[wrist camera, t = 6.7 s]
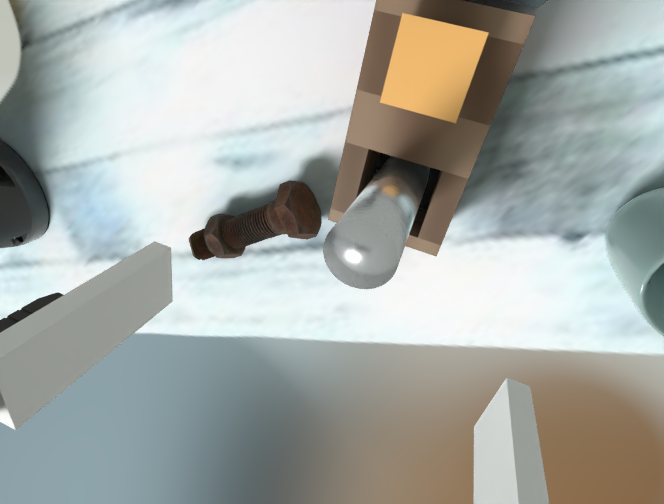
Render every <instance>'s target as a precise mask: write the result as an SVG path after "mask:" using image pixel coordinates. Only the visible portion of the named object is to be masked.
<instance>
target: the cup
mask: <svg viewBox="0 0 664 504" xmlns="http://www.w3.org/2000/svg"><path fill="white" fill-rule="evenodd" d="M605 246H606V252H607V256H608V258H609V260H610V263H611V265H612V268H613V270H614V272H615V274H616V276H617V278H618V280H619V281H620V283H621V285H622V286H623V288H624V290H625V291H626V293H627V294H628V296H629V297H630V299H631V301H632V302H633V304H634V305H635V307H636V308H637V309H638V311H639V312H640V314H641V315H642V316H643V318H644V319H645V320H646V322H647V323H648V324H649V325H650V326H652V327H653V328H654V329H655V330H656V331H657V332H658V333H659V334H661V335H663V336H664V187H662V188H657V189H654V190H651V191H648V192H645V193H643V194H641V195H639V196H637V197H635V198H633V199H632V200H630V201H629V202H627V203H626V204H624V205H623V206H622V207H621V208H620V209H619V210H618V211H616V213H615V214H614V215H613V216H612V218H611V219H610V221H609V223H608V225H607V228H606V233H605Z"/></svg>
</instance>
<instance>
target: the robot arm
mask: <svg viewBox="0 0 664 504" xmlns="http://www.w3.org/2000/svg"><path fill="white" fill-rule="evenodd" d="M48 220H49V216H48V208H47V203H46V200H45V197H44V194H43V192H42V189H41V187H40V185H39V183H38V181H37V180H36V178H35V176H34V175H33V173H32V172H31V170H30V169H29V167H28V166H27V165H26V164H25V162H24V161H23V160H22V159H21V158H20V157H19V156H18V155H17V154H16V153H15V152H14V151H13V150H12V149H11V148H10V147H9V146H8V145H6V144H5V143H4V142H2V141H1V140H0V248H6V247H14V246H20V245H24V244H26V243H29V242H31V241H33V240H36V239H38V238H40V237H41V236H42V235H43V234H44V233H45V231H46V229H47V226H48ZM171 302H172V265H171V248H170V247H168V246H165V245H162V244H160V243H157V242H153V243H151V244H150V245H148V246H146V247H145V248H143V249H141V250H139V251H138V252H136V253H134V254H133V255H131V256H129V257H128V258H126V259H124V260H123V261H121V262H119V263H117V264H116V265H114V266H112V267H111V268H109V269H107V270H106V271H104V272H102V273H101V274H99V275H97V276H95V277H94V278H92V279H90V280H89V281H87V282H85V283H84V284H82V285H80V286H78V287H77V288H75V289H73V290H72V291H70V292H68V293H67V294H65V295H63V294H60V293H55V294H51V295H48V296H45V297H42V298H39V299H37V300H35V301H33V302H31V303H30V304H28V305H26V306H24V307H23V308H22V309H21V310H20V311H19V310H17V311H16V312H14V313H12V314H10V315H8V317H7V318H3V319H1V320H0V422H1V423H3V424H5V425H7V426H9V427H11V428H13V429H15V430H17V429H18V428H19V427H20V426H21V425H23V424H24V423H25V422H26V421H27V420H29V419H30V418H31V417H32V416H34V415H35V414H36V413H37V412H38V411H40V410H41V409H42V408H43V407H45V406H46V405H47V404H48V403H49V402H51V401H52V400H53V399H54V398H56V397H57V396H58V395H59V394H60V393H62V392H63V391H64V390H65V389H66V388H68V387H69V386H70V385H71V384H73V383H74V382H75V381H76V380H77V379H79V378H80V377H81V376H82V375H83V374H85V373H86V372H87V371H88V370H90V369H91V368H92V367H93V366H94V365H95V364H97V363H98V362H99V361H100V360H102V359H103V358H104V357H105V356H107V355H108V354H109V353H110V352H111V351H113V350H114V349H115V348H116V347H118V346H119V345H120V344H121V343H122V342H124V341H125V340H126V339H127V338H128V337H130V336H131V335H132V334H133V333H135V332H136V331H137V330H138V329H139V328H141V327H142V326H143V325H144V324H145V323H147V322H148V321H149V320H150V319H152V318H153V317H154V316H155V315H156V314H158V313H159V312H160V311H161V310H162V309H164V308H165V307H166V306H167V305H169V304H170V303H171ZM474 504H549V499H548V493H547V487H546V481H545V475H544V469H543V463H542V456H541V450H540V444H539V438H538V432H537V426H536V420H535V413H534V407H533V402H532V396H531V389H530V387H529V386H527V385H525V384H522V383H520V382H517V381H514V380H512V379H509V378H506V379H505V381H504V382H503V384H502V386H501V387H500V388H499V390H498V391H497V393H496V394H495V396H494V398H493V399H492V400H491V402H490V403H489V405H488V406H487V408H486V410H485V411H484V413H483V414H482V416H481V417H480V419H479V420H478V422H477V423H476V425H475V426H474Z"/></svg>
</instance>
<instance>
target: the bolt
mask: <svg viewBox="0 0 664 504" xmlns="http://www.w3.org/2000/svg"><path fill="white" fill-rule="evenodd" d="M320 227H321V213H320V208H319V205H318V203H317V201H316V198H315V196H314V194H313V193H312V191H311V190H310V189H309V188H308V187H307V186H306V185H305V184H304V183H302V182H298V181H287V182H285V183H282V184H280V186H279V190H278V195H277V199H276V200H275V201H273V202H272V203H270V204H268V205H265V206H262V207H259V208H257V209H254V210H252V211H249V212H247V213H244V214H241V215H239V216H237V217H234V216H232V215H225V214H218V215H215V216H213V217H211V218H210V219H209V221H208V223H207V225H206V227H205V229H202V230H200V231H197V232H195V233H193V234H192V235H191V236H190V238H189V242H190V246H191V250H192V253H193V256H194V257H195V258H197V259H199V260H200V259H202V260H205V259H208V258H211V257H214V256H216V257H217V258H235V257H238V256H241V255H242V253H243V252H244V250H245V247H246V246H248V245H250V244H253V243H256V242H259V241H262V240H265V239H268V238H272V237H275V236H278V235H281V234H288V236H289V237H291V238H300V239H310V238H313V237H316V236H317V234H318V232H319V230H320Z"/></svg>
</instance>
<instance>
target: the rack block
mask: <svg viewBox="0 0 664 504" xmlns="http://www.w3.org/2000/svg"><path fill="white" fill-rule="evenodd" d="M505 1H509V2H514V3H519V4H523V5H528V6H533V7H540V6H541V5H543V4H544V3H546V2H547V1H548V0H505Z"/></svg>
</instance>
